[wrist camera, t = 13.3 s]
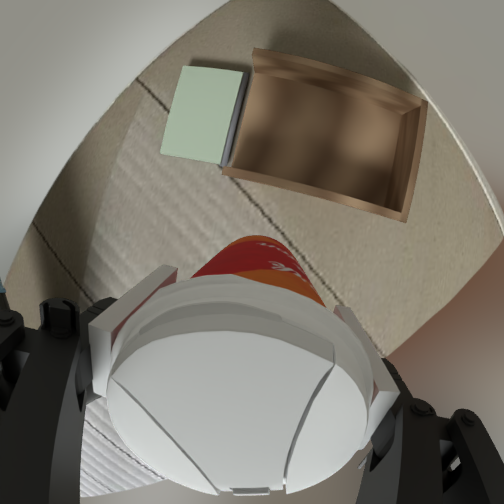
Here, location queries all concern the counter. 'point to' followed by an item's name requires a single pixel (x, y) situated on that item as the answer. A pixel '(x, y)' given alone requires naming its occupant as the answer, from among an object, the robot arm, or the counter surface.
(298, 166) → the crate
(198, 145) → the book
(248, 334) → the paper cup
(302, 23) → the counter surface
